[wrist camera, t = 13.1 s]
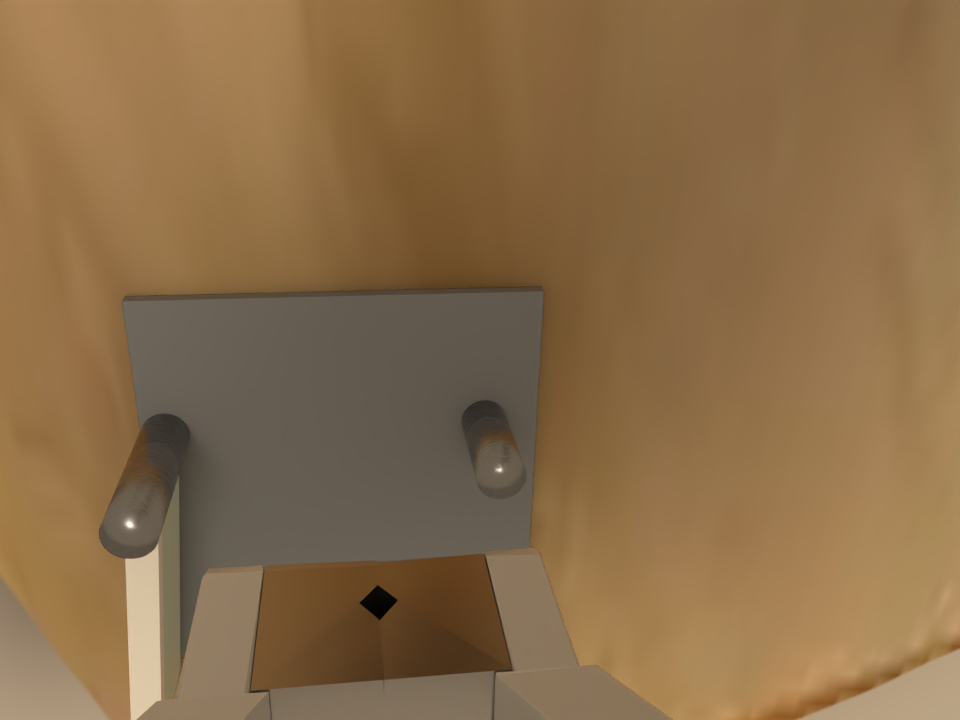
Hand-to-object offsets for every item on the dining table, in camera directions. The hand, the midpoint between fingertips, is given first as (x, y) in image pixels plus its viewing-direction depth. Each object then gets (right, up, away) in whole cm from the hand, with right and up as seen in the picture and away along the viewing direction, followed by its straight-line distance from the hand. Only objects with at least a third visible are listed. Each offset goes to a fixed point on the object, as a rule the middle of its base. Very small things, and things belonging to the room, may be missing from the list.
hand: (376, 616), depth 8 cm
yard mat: (-5, -3, +33) cm, 33 cm away
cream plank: (-13, -7, +32) cm, 35 cm away
